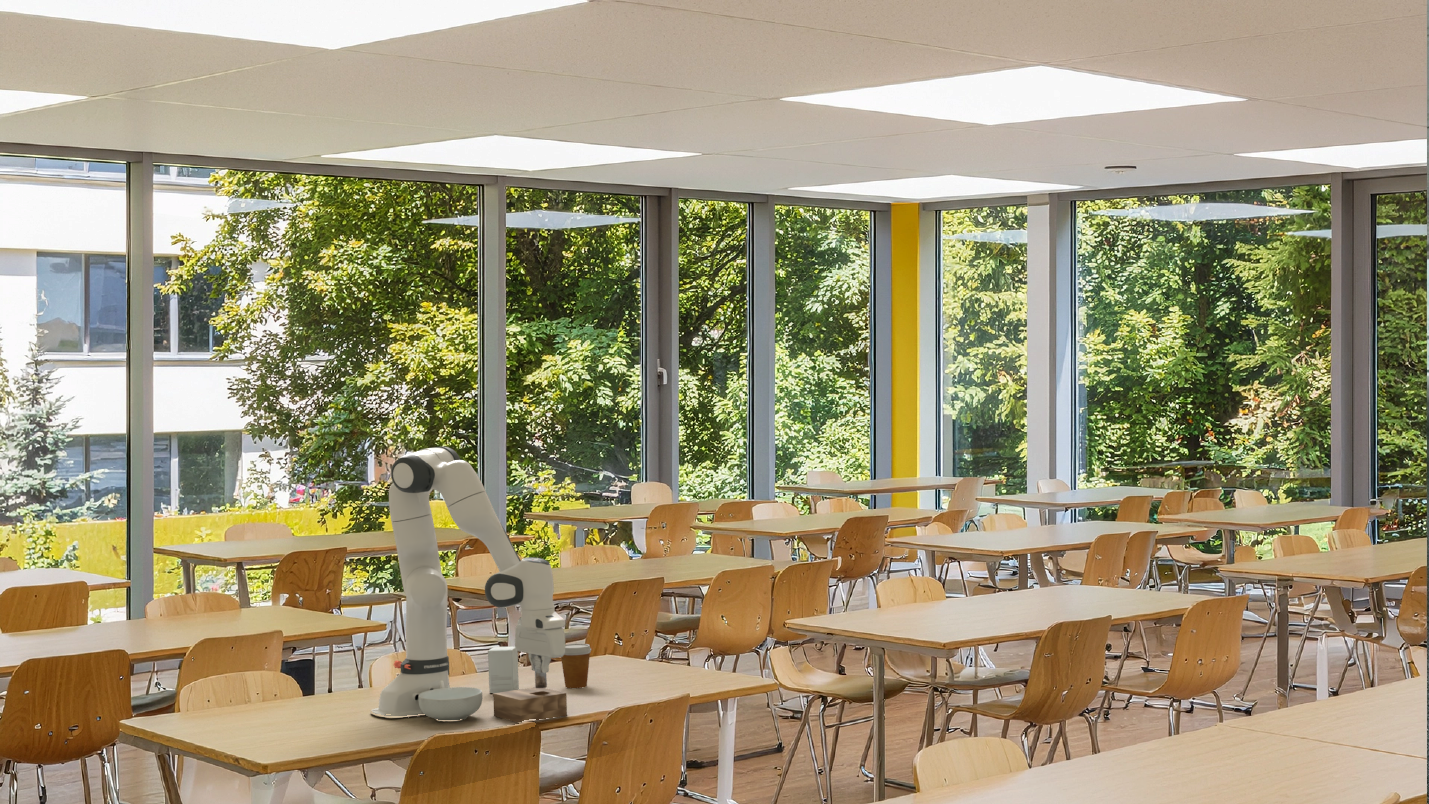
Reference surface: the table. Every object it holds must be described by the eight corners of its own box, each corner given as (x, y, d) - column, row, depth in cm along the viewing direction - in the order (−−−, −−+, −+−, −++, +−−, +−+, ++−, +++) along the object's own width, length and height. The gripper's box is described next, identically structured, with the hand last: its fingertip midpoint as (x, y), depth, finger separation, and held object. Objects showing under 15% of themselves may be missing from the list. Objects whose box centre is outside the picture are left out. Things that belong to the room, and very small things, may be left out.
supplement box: (519, 689, 434) (518, 645, 434) (513, 693, 427) (512, 649, 427) (494, 689, 435) (493, 646, 435) (488, 694, 427) (487, 650, 428)
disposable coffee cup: (590, 689, 431) (589, 647, 431) (557, 690, 431) (556, 648, 431) (593, 683, 440) (592, 643, 440) (562, 684, 440) (560, 643, 440)
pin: (539, 688, 390) (537, 650, 390) (533, 687, 392) (531, 649, 392) (549, 687, 392) (547, 649, 392) (543, 685, 394) (541, 648, 394)
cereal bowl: (414, 716, 396) (413, 690, 396) (475, 710, 402) (475, 684, 402) (424, 728, 380) (424, 700, 380) (489, 721, 386) (488, 694, 386)
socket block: (520, 723, 382) (520, 700, 383) (493, 716, 393) (493, 693, 394) (567, 715, 391) (566, 693, 391) (539, 708, 402) (538, 686, 402)
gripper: (508, 617, 398) (510, 668, 398) (547, 623, 382) (549, 677, 382) (528, 614, 402) (530, 665, 402) (568, 620, 386) (570, 674, 386)
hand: (540, 671), depth 392 cm, fingers closed on pin, 3 cm apart
